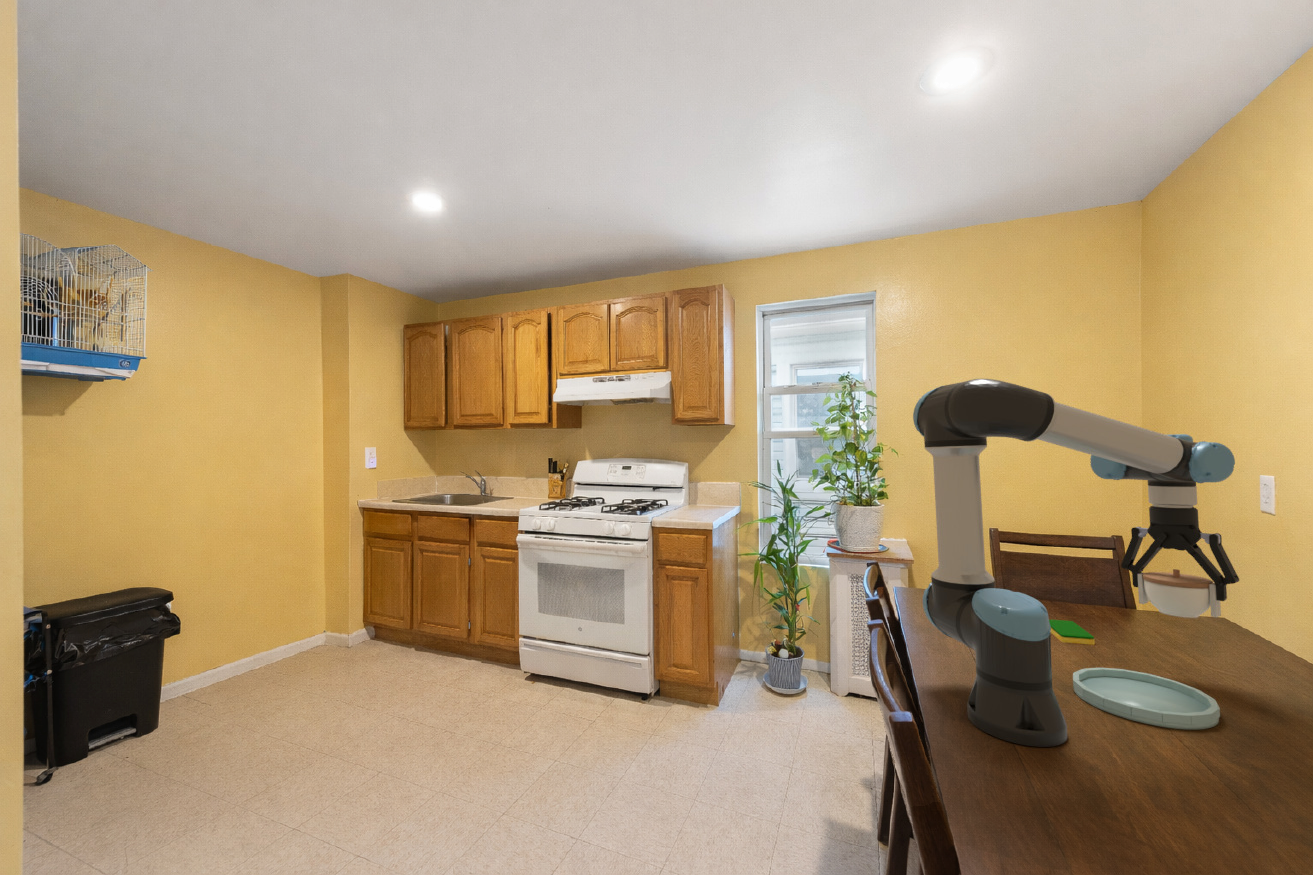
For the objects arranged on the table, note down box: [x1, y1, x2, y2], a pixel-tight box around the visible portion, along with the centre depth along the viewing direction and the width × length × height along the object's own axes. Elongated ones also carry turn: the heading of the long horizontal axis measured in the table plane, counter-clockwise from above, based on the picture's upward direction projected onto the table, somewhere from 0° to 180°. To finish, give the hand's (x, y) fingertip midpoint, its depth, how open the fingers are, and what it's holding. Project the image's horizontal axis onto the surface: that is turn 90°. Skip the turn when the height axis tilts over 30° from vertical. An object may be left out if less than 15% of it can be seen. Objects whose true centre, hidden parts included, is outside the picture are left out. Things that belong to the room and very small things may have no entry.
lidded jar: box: [1143, 568, 1214, 619], centre depth 112 cm, size 11×11×9 cm
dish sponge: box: [1049, 619, 1096, 646], centre depth 142 cm, size 7×14×2 cm, turn 161°
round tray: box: [1072, 667, 1221, 731], centre depth 104 cm, size 21×21×2 cm
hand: (1178, 609), depth 112 cm, fingers closed on lidded jar, 11 cm apart
